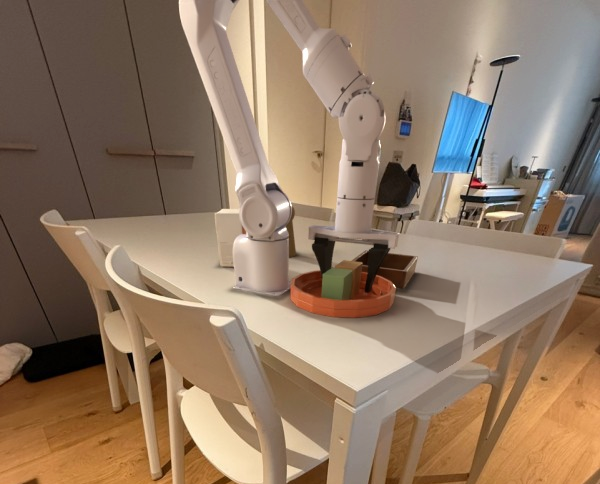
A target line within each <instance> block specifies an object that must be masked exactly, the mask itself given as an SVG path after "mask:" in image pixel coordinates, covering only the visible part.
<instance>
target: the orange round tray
mask: <svg viewBox="0 0 600 484" xmlns="http://www.w3.org/2000/svg"><path fill="white" fill-rule="evenodd" d="M366 279H367V272H361V280H360V289H359V292H358V293H357V294H356V295H355V296H354V297H353V298H352V299H351V298H350V300H335V299H329V298H323V297H322V276H321V271H320V269H319V270H312V271H306V272H304V273H303V272H302V273H300V274H298V275H296V276H294V277H293V278H291V281H290V282H291V289H290V301H291V302H292V303H293V304H294V305H295V306H296V307H297V308H299V309H301V310H304V311H307V312H309V313H312V314H316V315H320V316H321V315H322V316H327V317H332V318H355V319H357V318H365V317H371V316H377V315H379V314H382V313H384V312H386V311H389V310H390V309H391V307H392V305H393V304H394V301H395V295H396V291H397V288H395V286H394V284H393V283H392V282H391V281H389V280H387V279H385V278H383V277H381V276H378V275H376V277H375V280H374V283H373V286H372V290H371V291H370V292H369V293H366V292H365V284H366Z"/></svg>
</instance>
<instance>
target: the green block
mask: <svg viewBox="0 0 600 484" xmlns="http://www.w3.org/2000/svg"><path fill="white" fill-rule="evenodd" d="M352 276H353V270H348V269H341V268H335V267H332V268H331V269H330V270H328V271H327V272H325V273H324V274H323V279H322V297H323V298H329V299H335V300H350V294H351V285H352Z"/></svg>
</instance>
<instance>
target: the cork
mask: <svg viewBox="0 0 600 484" xmlns="http://www.w3.org/2000/svg"><path fill="white" fill-rule="evenodd" d="M291 206H292V215H291V218H290V221H289V222H288V224H287V225H286V229H287V231H288V233H289V258H291V257H295V256H296V255H297V249H296V242H295V232H294V221H293V220H294V219H295V216H296V211H295V210H296V209H295V208H294V205H291Z"/></svg>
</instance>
